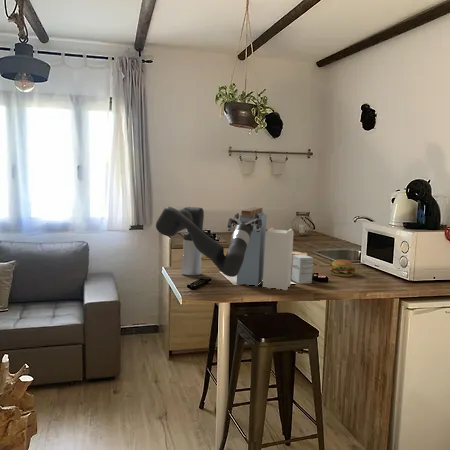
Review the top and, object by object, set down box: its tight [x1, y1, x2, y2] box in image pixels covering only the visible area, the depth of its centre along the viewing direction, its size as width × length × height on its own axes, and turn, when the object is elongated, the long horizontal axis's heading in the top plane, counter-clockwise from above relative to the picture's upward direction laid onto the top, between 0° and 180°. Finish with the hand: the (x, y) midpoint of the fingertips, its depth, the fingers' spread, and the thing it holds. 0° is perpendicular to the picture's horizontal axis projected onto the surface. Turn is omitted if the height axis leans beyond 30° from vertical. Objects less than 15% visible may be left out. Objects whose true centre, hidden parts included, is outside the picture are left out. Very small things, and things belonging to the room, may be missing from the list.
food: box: [329, 258, 358, 278], centre depth 253 cm, size 14×14×8 cm
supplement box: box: [291, 254, 314, 285], centre depth 231 cm, size 7×7×13 cm
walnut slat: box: [240, 206, 263, 218], centre depth 218 cm, size 24×4×3 cm, turn 163°
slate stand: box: [236, 211, 268, 287], centre depth 224 cm, size 13×10×33 cm
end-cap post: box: [262, 226, 295, 291], centre depth 219 cm, size 11×11×26 cm
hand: (247, 215), depth 209 cm, fingers open, 8 cm apart
